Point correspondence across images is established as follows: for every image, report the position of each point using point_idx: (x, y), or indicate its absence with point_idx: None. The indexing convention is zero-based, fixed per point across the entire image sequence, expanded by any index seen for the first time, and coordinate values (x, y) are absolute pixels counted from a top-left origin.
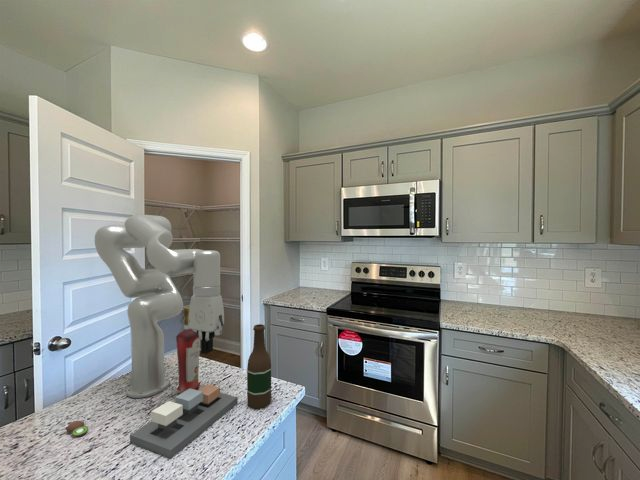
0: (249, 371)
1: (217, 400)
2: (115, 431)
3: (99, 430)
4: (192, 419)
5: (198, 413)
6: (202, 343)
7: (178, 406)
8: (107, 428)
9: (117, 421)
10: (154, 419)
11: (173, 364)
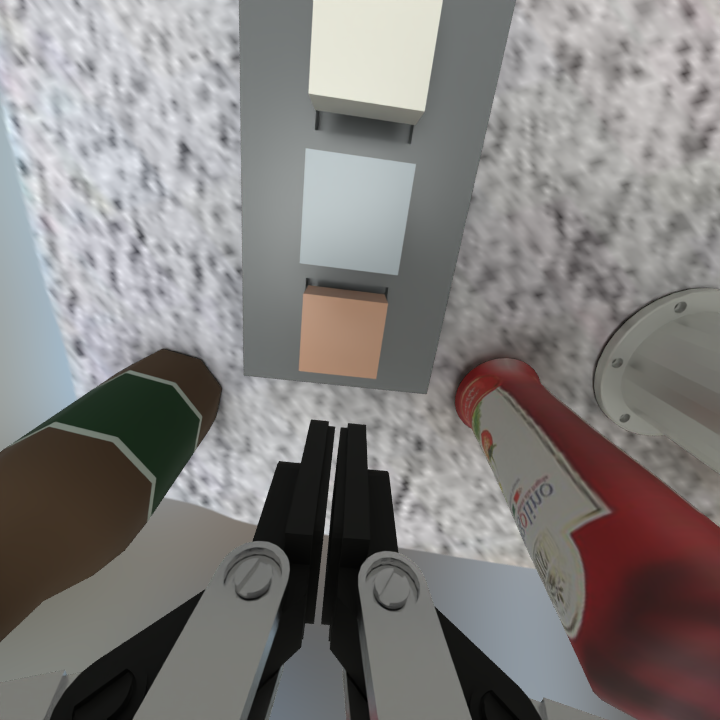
0: (91, 436)
1: None
2: (626, 55)
3: (707, 38)
4: None
5: None
6: (345, 503)
7: (321, 68)
8: (678, 64)
9: (663, 124)
10: None
11: None
